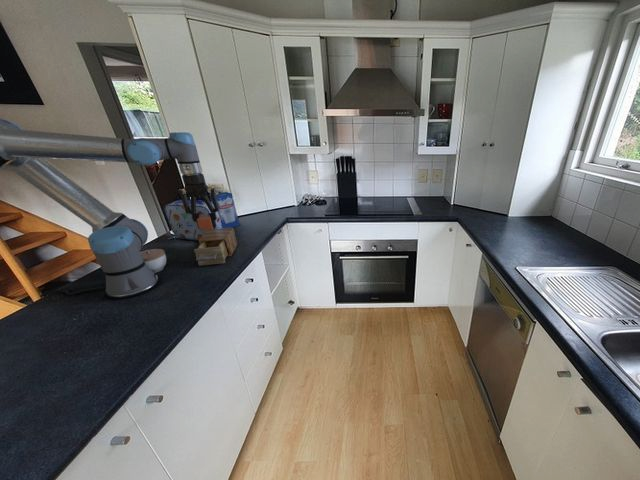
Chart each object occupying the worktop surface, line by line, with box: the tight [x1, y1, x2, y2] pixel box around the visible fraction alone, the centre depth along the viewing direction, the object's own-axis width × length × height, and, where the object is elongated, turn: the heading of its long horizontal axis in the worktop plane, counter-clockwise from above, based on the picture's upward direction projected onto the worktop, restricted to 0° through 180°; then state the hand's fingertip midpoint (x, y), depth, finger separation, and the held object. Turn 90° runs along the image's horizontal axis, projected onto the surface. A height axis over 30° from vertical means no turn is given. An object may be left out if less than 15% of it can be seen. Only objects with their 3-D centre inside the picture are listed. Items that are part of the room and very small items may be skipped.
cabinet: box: [198, 227, 238, 258], centre depth 134 cm, size 15×12×10 cm
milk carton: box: [208, 191, 240, 228], centre depth 164 cm, size 10×6×20 cm, turn 148°
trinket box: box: [140, 248, 167, 274], centre depth 116 cm, size 11×11×9 cm
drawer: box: [193, 240, 228, 267], centre depth 124 cm, size 18×10×8 cm, turn 15°
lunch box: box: [163, 199, 224, 241], centre depth 146 cm, size 28×10×22 cm, turn 85°
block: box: [197, 215, 213, 230], centre depth 120 cm, size 5×5×5 cm
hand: (207, 227), depth 121 cm, fingers closed on block, 5 cm apart
